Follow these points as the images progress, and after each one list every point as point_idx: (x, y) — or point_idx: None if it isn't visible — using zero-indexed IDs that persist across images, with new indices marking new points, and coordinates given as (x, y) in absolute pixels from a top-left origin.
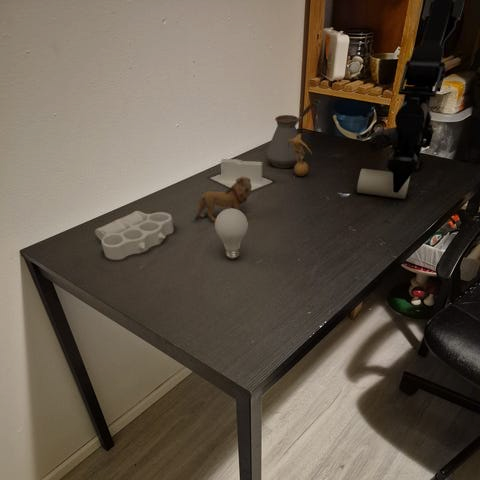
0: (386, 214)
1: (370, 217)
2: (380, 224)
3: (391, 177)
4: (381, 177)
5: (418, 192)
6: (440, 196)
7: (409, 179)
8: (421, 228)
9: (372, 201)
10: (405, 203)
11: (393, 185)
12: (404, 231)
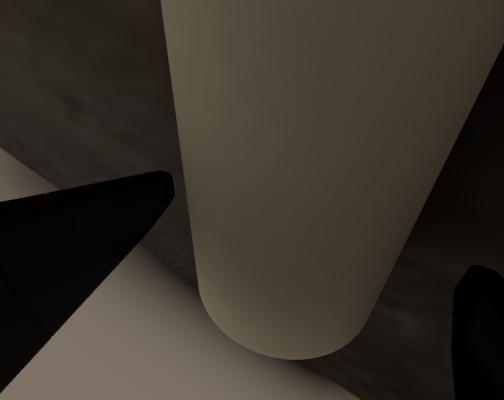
0: (119, 109)
1: (58, 26)
2: (45, 81)
3: (191, 195)
4: (171, 77)
5: (395, 303)
6: (349, 354)
7: (207, 310)
8: None
9: None
10: None
11: (103, 182)
12: (63, 163)
